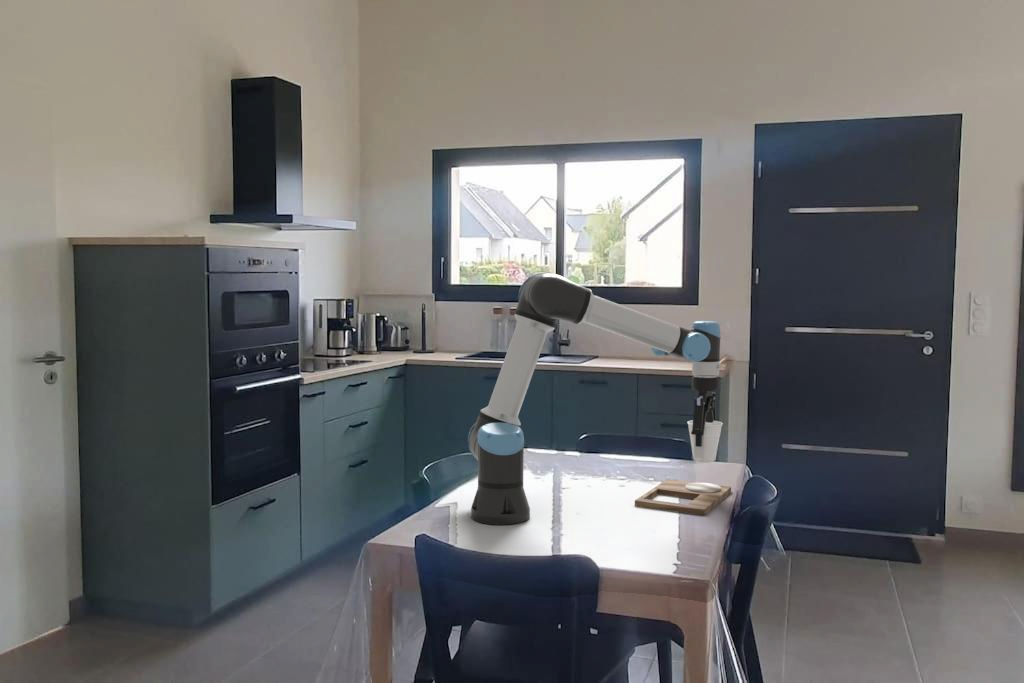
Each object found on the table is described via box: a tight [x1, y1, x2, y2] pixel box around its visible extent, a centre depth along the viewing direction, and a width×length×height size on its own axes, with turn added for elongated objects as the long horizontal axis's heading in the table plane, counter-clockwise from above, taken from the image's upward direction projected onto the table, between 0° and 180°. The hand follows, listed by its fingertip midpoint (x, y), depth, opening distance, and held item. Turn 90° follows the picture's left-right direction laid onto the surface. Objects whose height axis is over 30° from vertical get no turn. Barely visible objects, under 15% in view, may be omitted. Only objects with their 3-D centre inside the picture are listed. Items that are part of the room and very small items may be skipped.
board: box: [634, 478, 732, 516], centre depth 244 cm, size 28×19×2 cm
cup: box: [687, 419, 724, 464], centre depth 248 cm, size 10×10×11 cm
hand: (704, 454), depth 249 cm, fingers closed on cup, 9 cm apart
